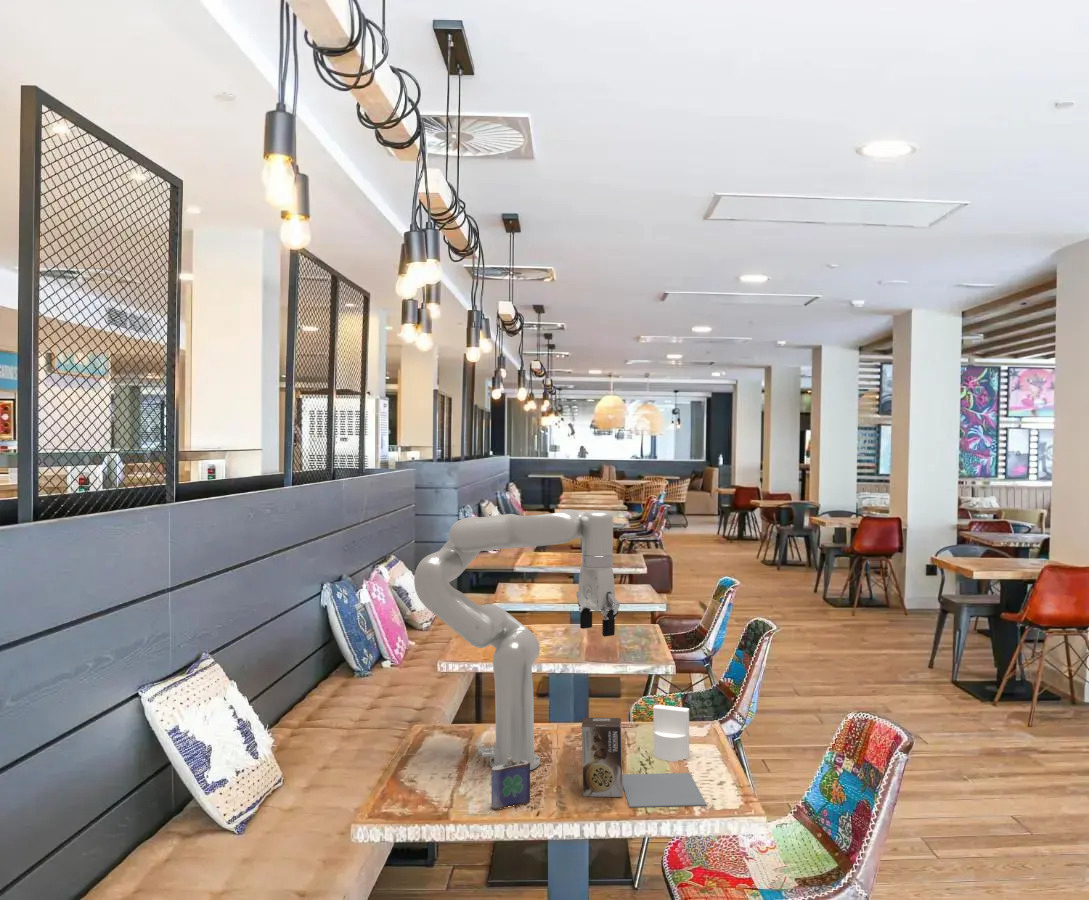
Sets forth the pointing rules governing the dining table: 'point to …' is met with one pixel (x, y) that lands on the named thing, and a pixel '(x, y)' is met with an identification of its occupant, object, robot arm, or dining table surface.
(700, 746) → the dining table surface
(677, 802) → the mat
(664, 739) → the cylinder with rectangular tab
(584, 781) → the coffee box
